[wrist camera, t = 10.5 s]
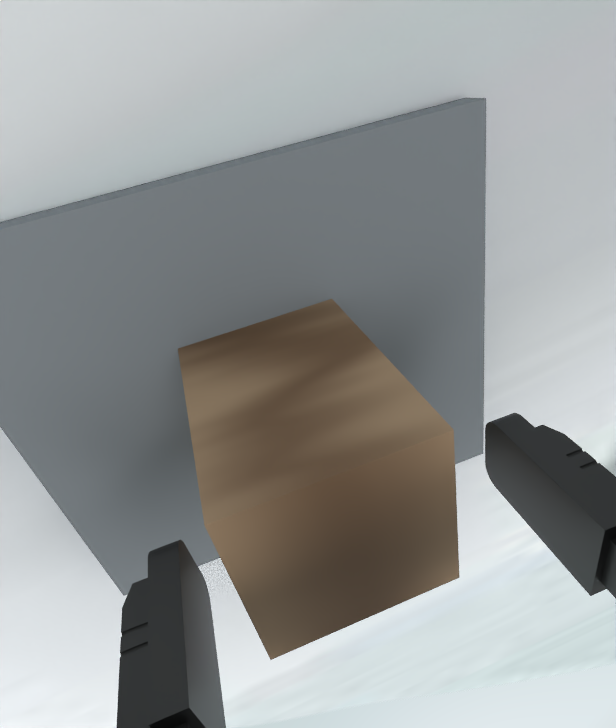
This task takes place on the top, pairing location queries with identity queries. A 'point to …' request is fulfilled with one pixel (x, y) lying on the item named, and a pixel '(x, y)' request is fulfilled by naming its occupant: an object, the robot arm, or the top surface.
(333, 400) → the walnut block
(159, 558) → the robot arm
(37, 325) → the charcoal mat
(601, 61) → the top surface
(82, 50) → the top surface
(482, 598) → the top surface
